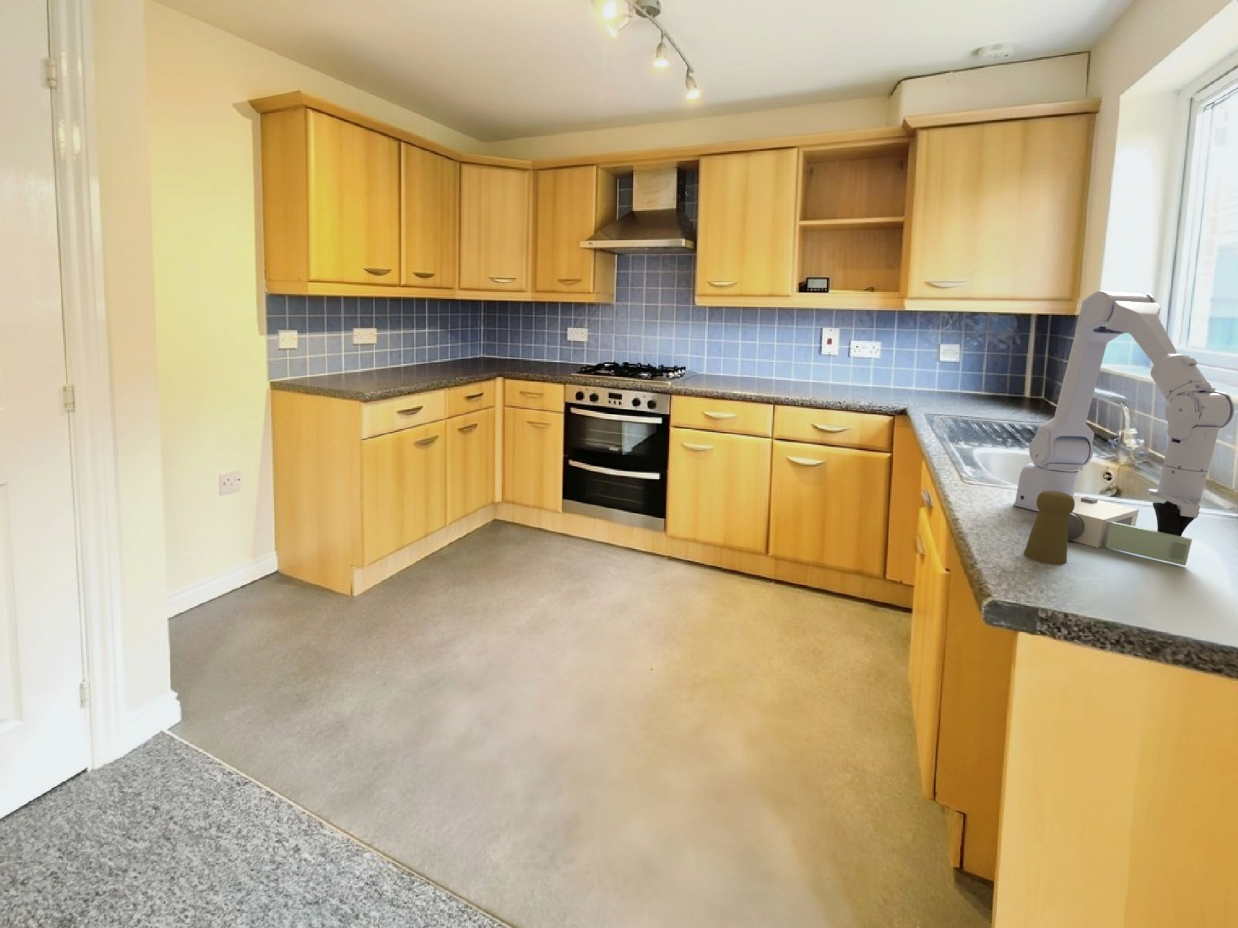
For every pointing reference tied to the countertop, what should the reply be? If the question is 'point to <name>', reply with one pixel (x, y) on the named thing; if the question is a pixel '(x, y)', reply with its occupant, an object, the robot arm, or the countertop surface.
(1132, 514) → the camera box
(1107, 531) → the side door
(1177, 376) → the robot arm
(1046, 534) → the cork
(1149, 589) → the countertop surface
